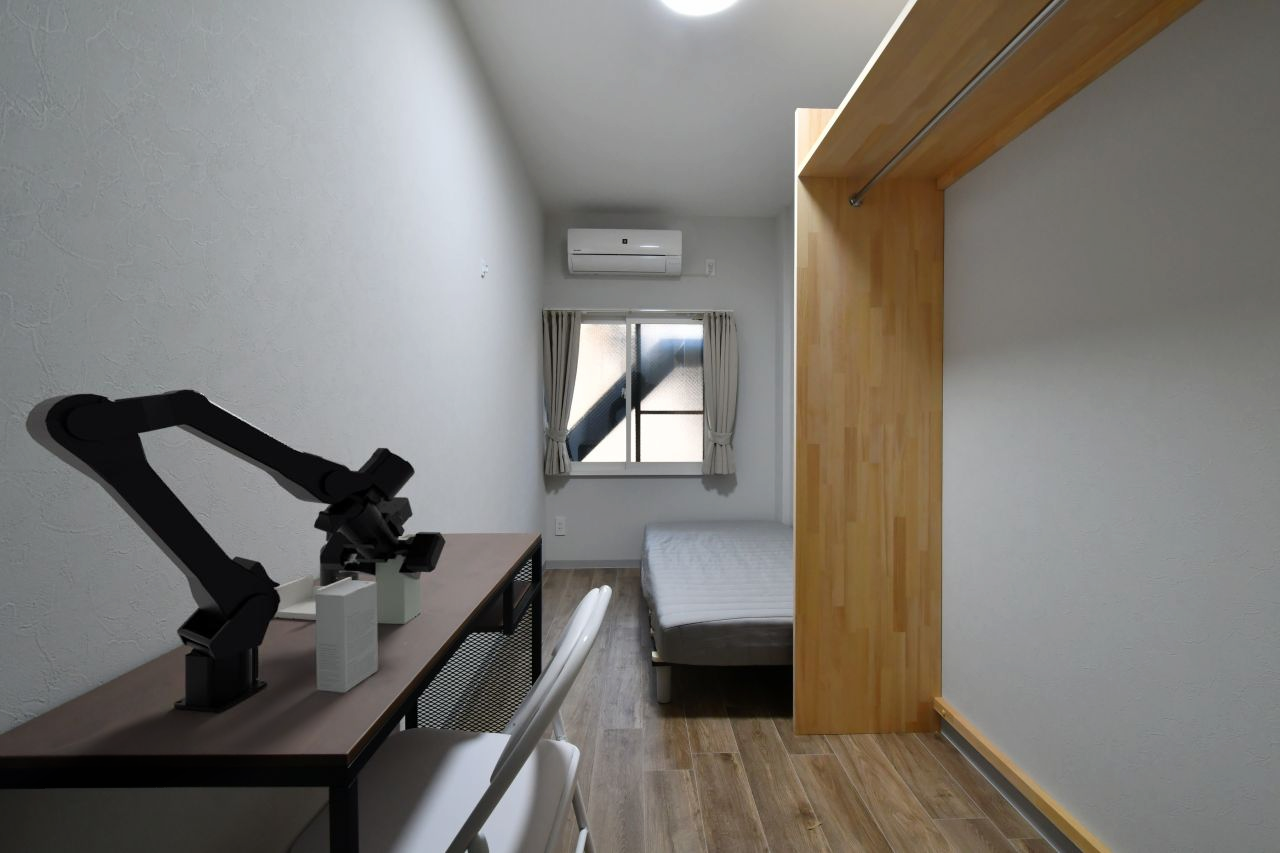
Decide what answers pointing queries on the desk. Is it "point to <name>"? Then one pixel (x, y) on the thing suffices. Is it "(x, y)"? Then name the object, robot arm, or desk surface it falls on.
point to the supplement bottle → (334, 572)
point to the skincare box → (346, 635)
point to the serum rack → (301, 598)
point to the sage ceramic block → (396, 593)
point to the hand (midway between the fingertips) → (403, 576)
